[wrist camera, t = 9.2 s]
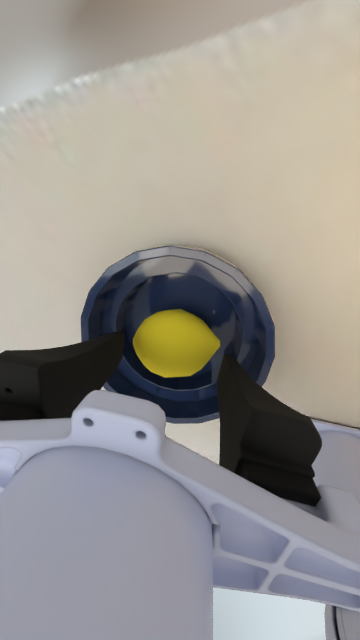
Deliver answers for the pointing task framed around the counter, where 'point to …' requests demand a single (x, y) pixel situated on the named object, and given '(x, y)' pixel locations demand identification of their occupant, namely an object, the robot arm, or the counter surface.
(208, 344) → the lemon
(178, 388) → the stepped navy bowl
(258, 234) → the counter surface
